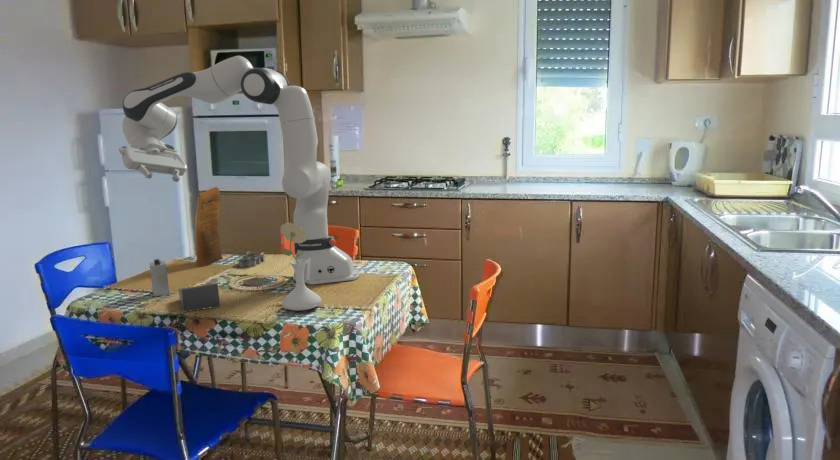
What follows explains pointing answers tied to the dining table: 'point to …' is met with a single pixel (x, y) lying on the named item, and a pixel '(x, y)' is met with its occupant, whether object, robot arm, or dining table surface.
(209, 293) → the block
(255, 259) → the grey building model
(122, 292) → the dining table surface
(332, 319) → the dining table surface
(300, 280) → the flower in vase
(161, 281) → the block
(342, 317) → the dining table surface
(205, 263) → the pancake mix bag
